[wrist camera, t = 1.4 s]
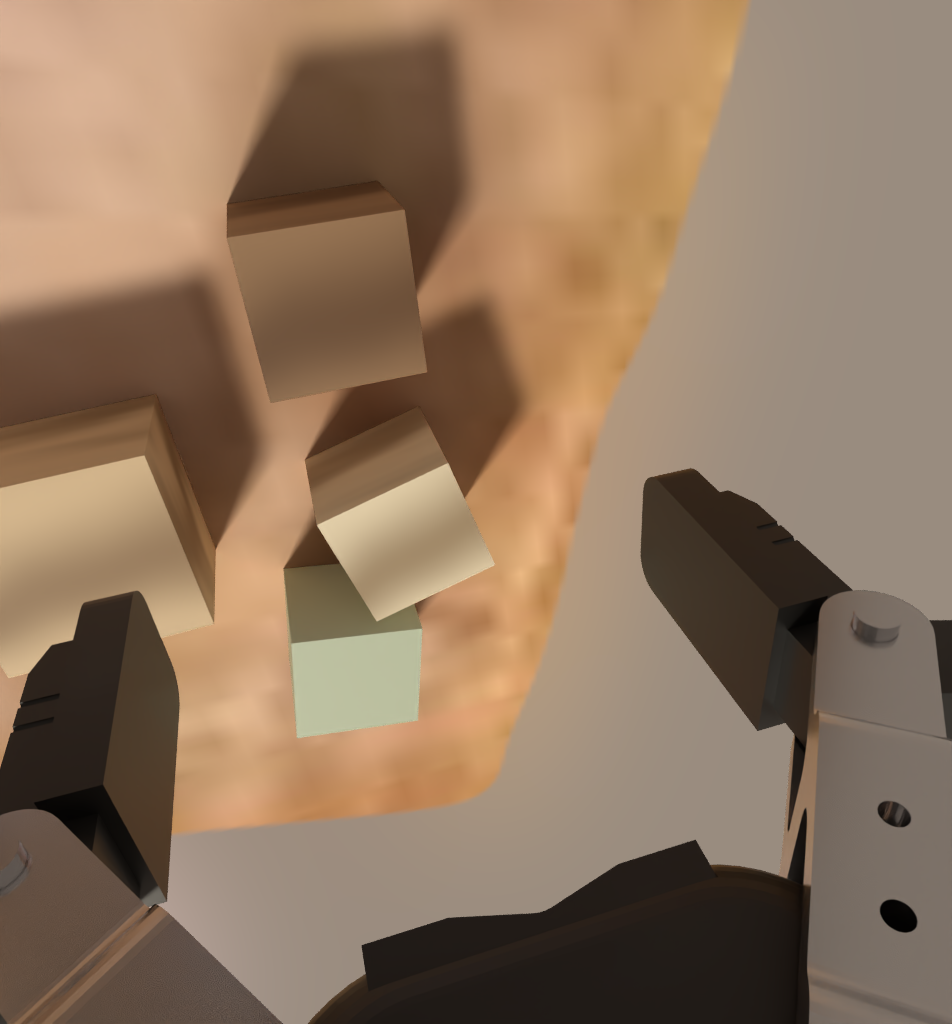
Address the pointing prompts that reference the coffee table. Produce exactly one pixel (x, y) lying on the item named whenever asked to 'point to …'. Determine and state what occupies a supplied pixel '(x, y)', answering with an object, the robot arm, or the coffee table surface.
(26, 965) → the robot arm
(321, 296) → the walnut block
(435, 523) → the beech block
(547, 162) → the coffee table surface
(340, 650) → the sage block
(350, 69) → the coffee table surface
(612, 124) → the coffee table surface
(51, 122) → the coffee table surface
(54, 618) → the oak base
